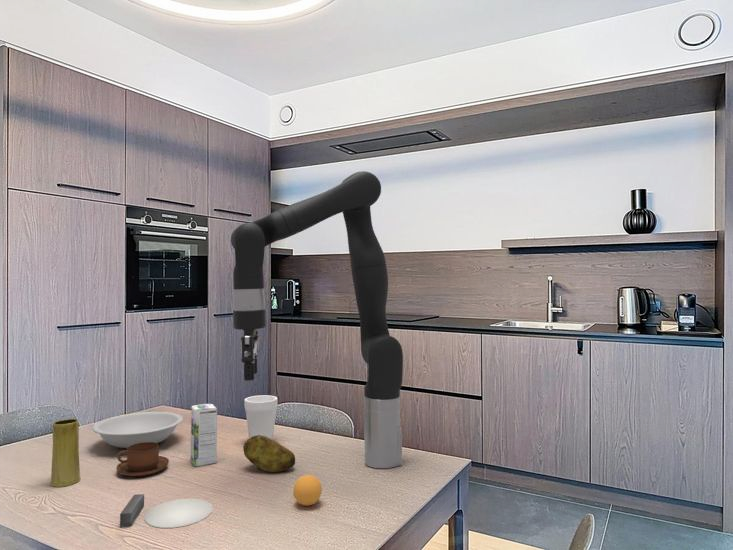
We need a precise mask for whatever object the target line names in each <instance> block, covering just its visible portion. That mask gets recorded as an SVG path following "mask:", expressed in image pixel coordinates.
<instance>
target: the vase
mask: <svg viewBox="0 0 733 550" xmlns="http://www.w3.org/2000/svg"><path fill="white" fill-rule="evenodd" d="M79 423H80V422H79V419H77V418H65V419H64V418H63V419H59V420H56V421H55V420H54V421H53V422H52V449H51V451H52V453H51V474H50V475H51V476H50V482H49V484H50V485H51V487H54V488H55V487H56V488H63V487H69V486H72V485H74V484H77V483H79V482H80V480H81V472H80V471H81V470H80V467H81V466H80V454H79V453H80V452H79V449H80V446H79V445H80V443H79V440H80V439H79V438H80V437H79V435H80V433H79V431H80V430H79V429H80V428H79V427H80V424H79Z"/></svg>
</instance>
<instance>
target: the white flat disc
mask: <svg viewBox="0 0 733 550" xmlns="http://www.w3.org/2000/svg"><path fill="white" fill-rule="evenodd" d="M212 512H213V505H212V504H211V503H210V501H208V500H205V499H200V498H178V499H173V500H170V501H166V502H163V503H160V504H158V505H155V506H154V507H152V508H150V509H149V510H147V512H146V513H145V515H144V522H145V523H146V524H147V525H149V526H151V527H154V528H158V529H175V528H182V527H187V526H191V525H194V524H196V523H199V522H201V521H203V520H205V519H206V518H207V517H209V516H210V515H211V514H212Z"/></svg>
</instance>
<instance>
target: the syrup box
mask: <svg viewBox="0 0 733 550" xmlns="http://www.w3.org/2000/svg"><path fill="white" fill-rule="evenodd" d="M190 415H191V416H190V417H191V419H190V462H191V463H192V465H193V467H196V468H197V467H200V466H201V467H202V466H207V465H211V464H216V463H217V459H218V458H217V457H218V455H217V453H218V451H217V447H218V446H217V445H218V441H217V440H218V439H217V438H218V434H217V433H218V408H217V407H216V406H215V405H214V404H212V403H202V404H195V405H191V413H190Z"/></svg>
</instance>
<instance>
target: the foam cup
mask: <svg viewBox="0 0 733 550" xmlns="http://www.w3.org/2000/svg"><path fill="white" fill-rule="evenodd" d="M278 407H279V406H278V397H277V396H275V395H267V394H266V395H252V396H249V397H246V398H244V410H245V416H246V423H247V425H246V426H247V431H248V439H250V438H251V437H253V436H257V435H260V436H266V437H268V438H270V439H272V440H273V441H274V433H275V423H276V416H277V409H278Z"/></svg>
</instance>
